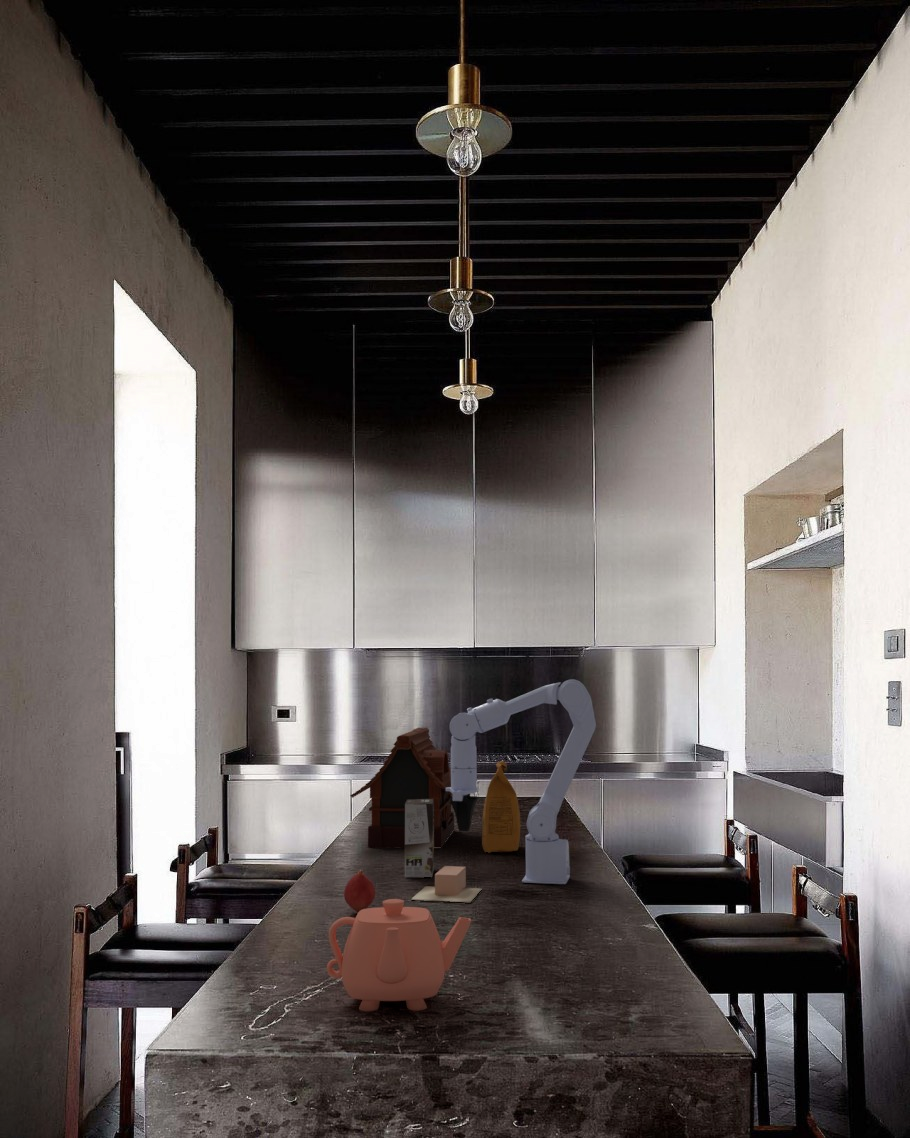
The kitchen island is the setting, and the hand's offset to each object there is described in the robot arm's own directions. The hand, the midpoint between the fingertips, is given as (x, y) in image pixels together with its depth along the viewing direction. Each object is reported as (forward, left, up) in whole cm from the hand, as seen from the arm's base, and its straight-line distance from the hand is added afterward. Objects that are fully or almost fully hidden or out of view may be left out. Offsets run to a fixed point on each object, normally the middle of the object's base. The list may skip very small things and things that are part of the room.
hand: (464, 830), depth 223 cm
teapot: (-8, +82, -11) cm, 83 cm away
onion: (+13, +34, -11) cm, 38 cm away
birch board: (0, +17, -10) cm, 20 cm away
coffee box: (+11, -4, -11) cm, 16 cm away
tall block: (0, +9, -8) cm, 12 cm away
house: (+25, -50, -11) cm, 57 cm away
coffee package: (-2, -37, -11) cm, 38 cm away
